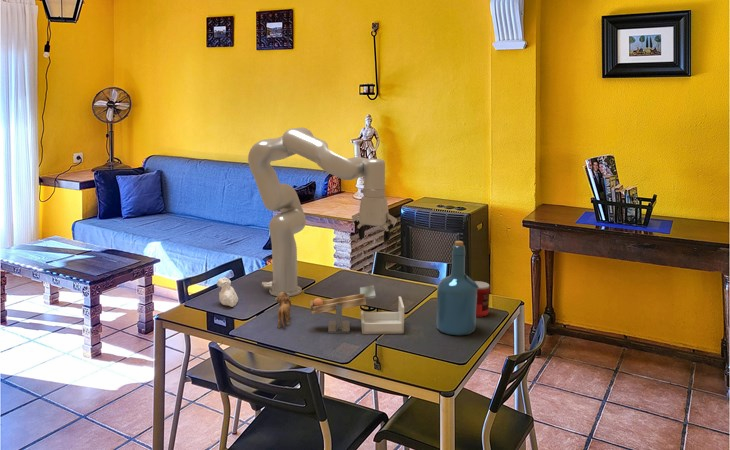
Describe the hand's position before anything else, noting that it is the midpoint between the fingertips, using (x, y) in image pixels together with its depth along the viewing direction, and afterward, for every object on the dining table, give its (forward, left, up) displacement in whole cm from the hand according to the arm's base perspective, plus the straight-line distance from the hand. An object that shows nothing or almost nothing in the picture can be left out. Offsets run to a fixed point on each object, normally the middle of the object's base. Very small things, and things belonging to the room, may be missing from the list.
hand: (374, 239), depth 217 cm
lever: (-11, -18, -17) cm, 27 cm away
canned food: (+36, -12, -25) cm, 45 cm away
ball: (-20, -24, -16) cm, 34 cm away
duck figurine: (-54, +1, -25) cm, 59 cm away
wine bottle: (+26, -26, -25) cm, 44 cm away
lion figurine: (-32, -17, -25) cm, 44 cm away
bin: (+1, -24, -24) cm, 34 cm away
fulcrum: (-13, -24, -24) cm, 36 cm away
